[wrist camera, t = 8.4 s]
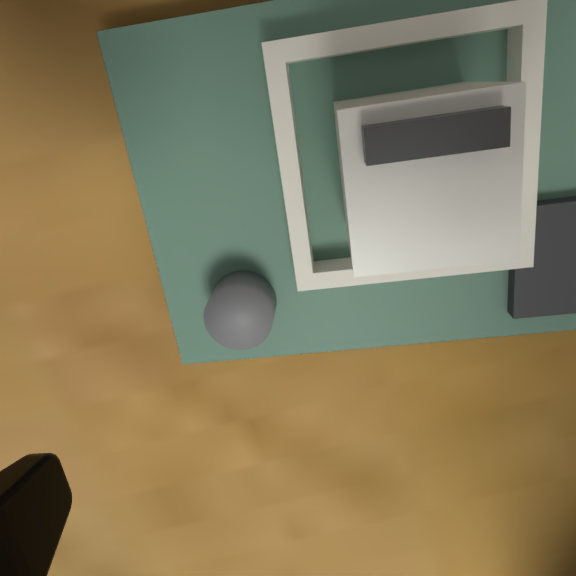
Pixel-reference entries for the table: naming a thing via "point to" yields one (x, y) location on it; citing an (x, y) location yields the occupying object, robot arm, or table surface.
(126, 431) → the table surface
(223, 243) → the board
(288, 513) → the table surface
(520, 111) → the plug
